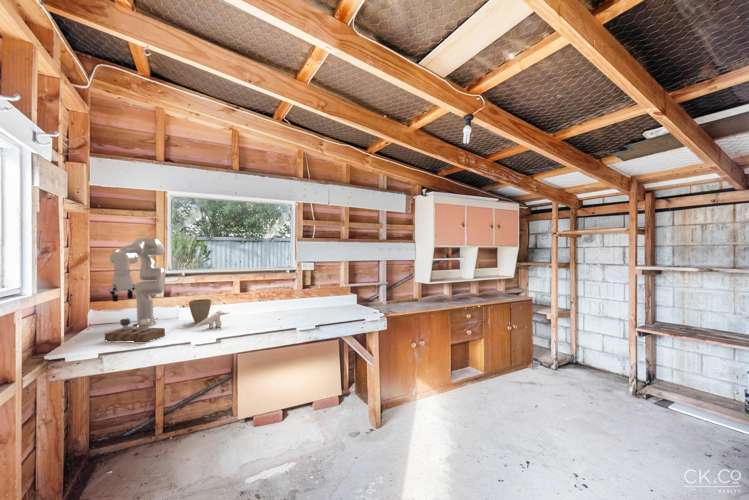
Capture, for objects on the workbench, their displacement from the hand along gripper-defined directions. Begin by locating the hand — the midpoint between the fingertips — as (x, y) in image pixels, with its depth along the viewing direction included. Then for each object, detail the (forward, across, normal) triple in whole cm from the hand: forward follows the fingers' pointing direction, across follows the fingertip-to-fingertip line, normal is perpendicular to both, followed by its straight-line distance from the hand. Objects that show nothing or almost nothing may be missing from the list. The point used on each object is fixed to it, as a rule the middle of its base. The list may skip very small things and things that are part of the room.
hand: (122, 299), depth 194 cm
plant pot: (+25, -43, +20) cm, 53 cm away
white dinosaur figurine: (+25, -30, +39) cm, 55 cm away
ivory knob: (+20, -1, +15) cm, 25 cm away
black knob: (+20, -1, +1) cm, 20 cm away
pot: (+19, -1, +8) cm, 21 cm away
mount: (+24, -1, +8) cm, 25 cm away
